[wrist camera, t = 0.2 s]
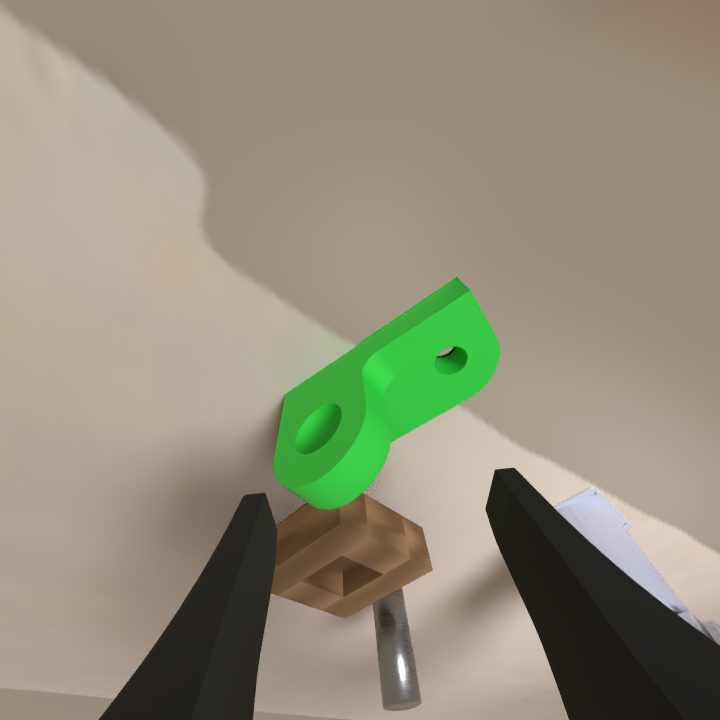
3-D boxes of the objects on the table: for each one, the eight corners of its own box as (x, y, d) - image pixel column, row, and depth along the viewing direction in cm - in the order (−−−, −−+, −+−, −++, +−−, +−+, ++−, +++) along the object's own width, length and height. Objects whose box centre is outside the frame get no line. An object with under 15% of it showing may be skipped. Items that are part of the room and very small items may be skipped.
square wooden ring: (422, 527, 29) (432, 570, 26) (342, 575, 32) (344, 618, 30) (338, 479, 25) (340, 523, 22) (257, 539, 28) (248, 585, 25)
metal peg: (406, 577, 34) (429, 701, 26) (384, 589, 35) (400, 712, 27) (386, 568, 32) (404, 696, 25) (364, 580, 33) (375, 707, 26)
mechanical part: (344, 445, 24) (350, 564, 17) (285, 392, 21) (264, 509, 14) (500, 353, 20) (586, 453, 14) (456, 276, 18) (537, 355, 11)
